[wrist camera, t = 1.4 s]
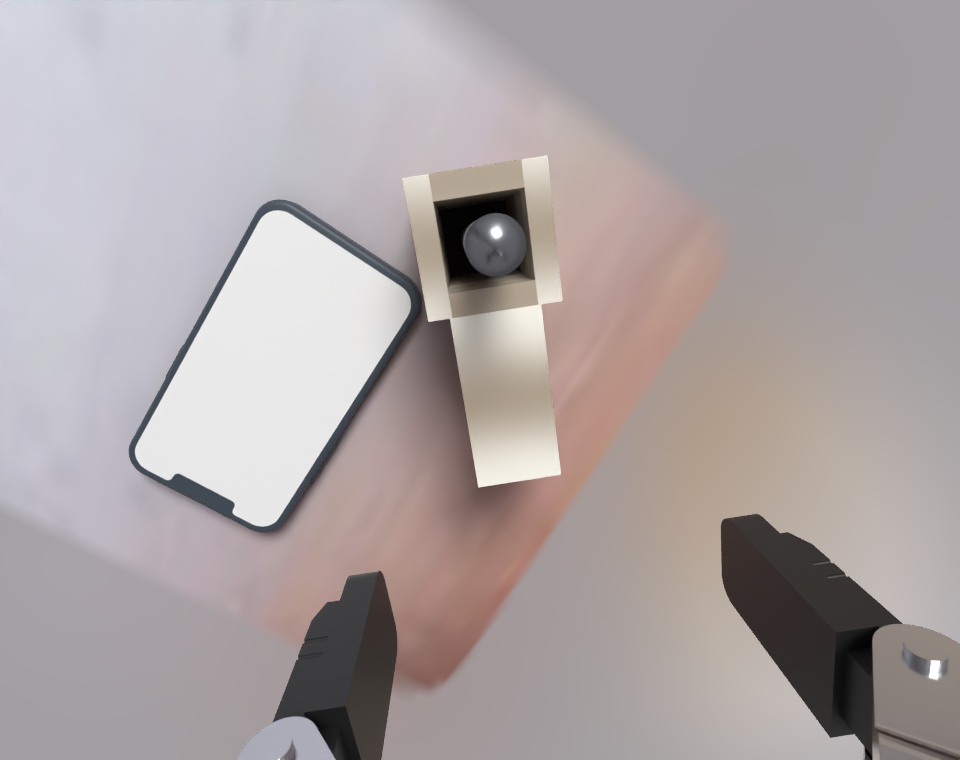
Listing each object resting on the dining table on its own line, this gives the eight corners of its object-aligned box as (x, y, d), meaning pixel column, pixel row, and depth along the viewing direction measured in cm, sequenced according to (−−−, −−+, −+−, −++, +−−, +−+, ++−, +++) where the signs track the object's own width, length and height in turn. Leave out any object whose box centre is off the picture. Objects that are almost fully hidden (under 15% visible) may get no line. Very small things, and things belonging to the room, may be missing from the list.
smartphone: (277, 188, 24) (134, 449, 27) (265, 185, 23) (115, 462, 26) (433, 292, 26) (282, 527, 29) (432, 295, 25) (272, 543, 28)
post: (458, 224, 24) (460, 217, 13) (491, 219, 24) (522, 208, 13) (464, 258, 25) (470, 281, 13) (496, 253, 25) (529, 271, 13)
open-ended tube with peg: (417, 193, 24) (402, 178, 17) (522, 176, 24) (547, 155, 17) (458, 427, 27) (458, 490, 21) (550, 412, 27) (580, 471, 21)
